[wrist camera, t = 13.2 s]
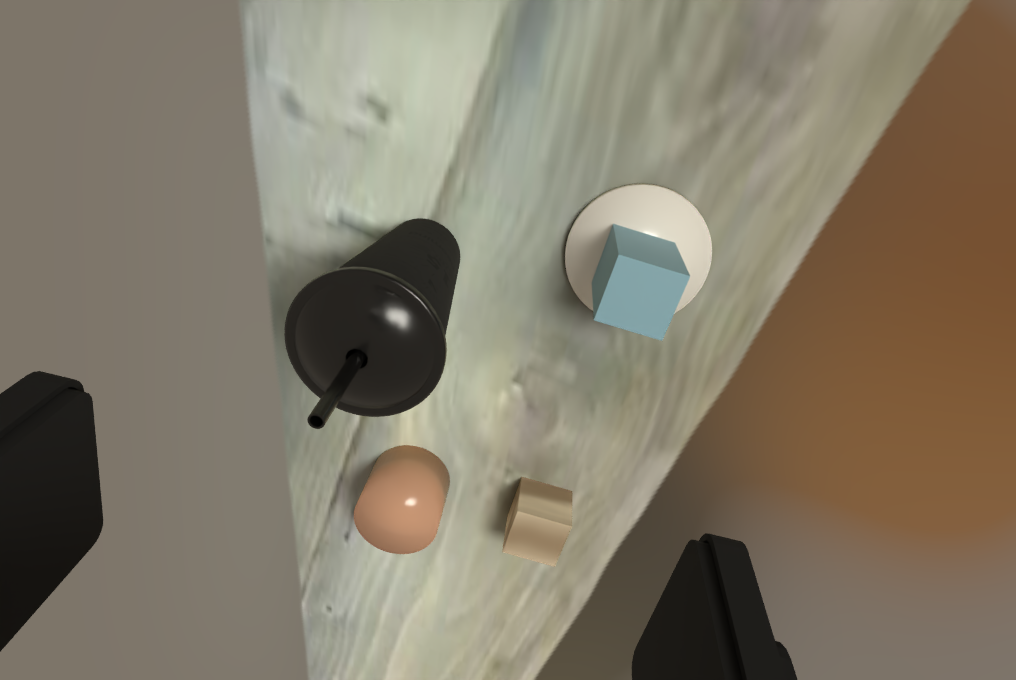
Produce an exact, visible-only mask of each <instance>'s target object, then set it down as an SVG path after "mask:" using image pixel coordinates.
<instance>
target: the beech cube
mask: <svg viewBox="0 0 1016 680" xmlns="http://www.w3.org/2000/svg"><path fill="white" fill-rule="evenodd" d="M571 528H572V491H570V490H566V489H563V488H559V487H556V486H552V485H549V484H545V483H542V482H538V481H535V480H531V479H528V478H524V477H521V480H520V483H519V486H518V488H517V491H516V494H515V497H514V499H513V502H512V505H511V507H510V510H509V513H508V516H507V522H506V529H505V537H504V544H503V551H502V552H505V553H508V554H512V555H515V556H519V557H522V558H526V559H529V560H533V561H536V562H540V563H543V564H547V565H550V566H554V567H555V565H556V563H557V560H558V558H559V556H560V553H561V551H562V549H563V546H564V544H565V542H566V539H567V537H568V535H569V532H570V530H571Z"/></svg>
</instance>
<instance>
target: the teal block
mask: <svg viewBox="0 0 1016 680" xmlns="http://www.w3.org/2000/svg"><path fill="white" fill-rule="evenodd" d="M689 278H690V274H689V272H688V270H687V268H686V266H685V263H684V261H683V259H682V257H681V255H680V252H679V250H678V248H677V246H676V243H675V242H671V241H668V240H665V239H662V238H658V237H655V236H652V235H649V234H645V233H642V232H639V231H636V230H632V229H629V228H626V227H623V226H619V225H616V224H613V225H612V228H611V230H610V233H609V236H608V239H607V241H606V244H605V247H604V250H603V252H602V255H601V258H600V260H599V263H598V266H597V269H596V271H595V274H594V277H593V279H592V299H593V315H594V320H595V321H598V322H601V323H605V324H608V325H611V326H615V327H618V328H621V329H625V330H628V331H631V332H635V333H638V334H641V335H645V336H648V337H651V338H655V339H658V340H661V341H662V340H663V338H664V335H665V333H666V331H667V328H668V326H669V324H670V322H671V319H672V317H673V315H674V313H675V310H676V308H677V306H678V303H679V301H680V299H681V297H682V294H683V292H684V290H685V287H686V285H687V283H688V281H689Z"/></svg>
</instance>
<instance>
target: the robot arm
mask: <svg viewBox="0 0 1016 680" xmlns="http://www.w3.org/2000/svg"><path fill="white" fill-rule="evenodd" d="M102 526H103V513H102V502H101V491H100V480H99V468H98V457H97V446H96V435H95V425H94V413H93V401H92V397H91V396H90V394H89V393H86V392H84V389H83V385H82V384H81V383H80V382H79V381H77V380H74V379H70V378H66V377H62V376H57V375H53V374H49V373H45V372H41V371H38V372H33V373H31V374H29V375H27V376H25V377H24V378H22V379H21V380H20V381H18V382H17V383H15V384H14V385H12V386H11V387H10V388H8V389H7V390H5V391H4V392H2V393H1V394H0V651H1V650H2V649H3V648H4V647H5V646H6V645H7V643H8V642H9V641H10V640H11V639H12V638H13V637H14V635H15V634H16V633H17V632H18V631H19V630H20V629H21V627H22V626H23V625H24V624H25V623H26V622H27V620H28V619H29V618H30V617H31V616H32V615H33V614H34V613H35V611H36V610H37V609H38V608H39V607H40V606H41V605H42V603H43V602H44V601H45V600H46V599H47V598H48V596H49V595H50V594H51V593H52V592H53V591H54V590H55V589H56V587H57V586H58V585H59V584H60V583H61V582H62V581H63V579H64V578H65V577H66V576H67V575H68V574H69V573H70V571H71V570H72V569H73V568H74V567H75V566H76V565H77V563H78V562H79V561H80V560H81V559H82V558H83V557H84V556H85V554H86V553H87V552H88V551H89V550H90V549H91V548H92V546H93V545H94V544H95V542H96V541H97V539H98V537H99V535H100V533H101V530H102ZM632 680H797V677H796V674H795V671H794V667H793V664H792V661H791V658H790V656H789V654H788V652H787V650H786V648H785V647H784V646H783V645H782V644H781V643H780V642H777V641H775V639H774V636H773V633H772V629H771V626H770V623H769V620H768V616H767V613H766V610H765V606H764V603H763V600H762V597H761V593H760V590H759V586H758V583H757V580H756V576H755V573H754V570H753V567H752V563H751V560H750V557H749V553H748V550H747V548H746V546H745V544H744V543H743V542H741V541H737V540H733V539H729V538H725V537H720V536H716V535H712V534H704V535H703V536H702V537H701V538H700V540H699V541H696V540H690V541H689V542H688V544H687V545H686V547H685V549H684V551H683V553H682V555H681V557H680V559H679V561H678V563H677V565H676V568H675V569H674V571H673V573H672V575H671V577H670V580H669V582H668V583H667V586H666V588H665V590H664V592H663V594H662V596H661V598H660V600H659V602H658V604H657V606H656V608H655V610H654V612H653V614H652V616H651V618H650V620H649V622H648V624H647V626H646V628H645V630H644V632H643V634H642V636H641V638H640V640H639V642H638V644H637V646H636V649H635V651H634V655H633V661H632Z"/></svg>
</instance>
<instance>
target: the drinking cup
mask: <svg viewBox="0 0 1016 680" xmlns="http://www.w3.org/2000/svg"><path fill="white" fill-rule="evenodd" d="M459 264H460V250H459V246H458V244H457V241H456V239H455V238H454V236H453V235H452V234H451V232H450V231H449V230H448V229H447V228H445V227H444V226H443V225H441V224H439V223H437V222H435V221H432V220H429V219H412V220H409V221H406V222H404V223H402V224H401V225H399V226H398V227H397V228H395V229H394V230H392V231H391V232H389V233H388V234H387V235H385V236H384V237H382V238H381V239H380V240H378V241H377V242H375V243H374V244H373V245H371V246H370V247H368V248H367V249H365V250H364V251H363V252H361V253H360V254H358V255H357V256H356V257H354V258H353V259H351V260H350V261H349V262H347V263H346V264H344V265H343V266H342V267H340V268H339V269H335V270H332V271H329V272H326V273H324V274H322V275H320V276H318V277H316V278H315V279H314V280H312V281H311V282H309V283H308V284H307V285H306V286H305V287H304V288H303V289H302V290H301V291H300V292H299V293H298V295H297V296H296V297H295V299H294V300H293V302H292V304H291V306H290V308H289V311H288V314H287V317H286V322H285V344H286V349H287V353H288V356H289V359H290V361H291V364H292V365H293V367H294V369H295V371H296V373H297V374H298V376H299V377H300V379H301V380H302V381H303V382H304V384H305V385H306V386H307V387H308V388H309V389H310V390H311V391H312V392H313V393H314V394H316V395H317V396H318V397H319V398H321V399H320V400H319V402H318V403H317V405H316V406H315V408H314V409H313V411H312V412H311V414H310V415H309V417H308V423H309V425H310V426H311V427H313V428H315V429H320V428H322V427H323V426H324V425H325V423H326V422H327V420H328V419H329V417H330V415H331V414H332V412H333V411H334V409H335V407H336V408H338V409H340V410H343V411H346V412H349V413H352V414H356V415H362V416H371V417H380V416H390V415H394V414H398V413H401V412H404V411H406V410H409V409H411V408H413V407H414V406H416V405H418V404H419V403H421V402H422V401H423V400H424V399H425V398H427V397H428V396H429V395H430V393H431V392H432V391H433V390H434V388H435V387H436V385H437V384H438V382H439V380H440V378H441V375H442V373H443V370H444V366H445V362H446V353H447V347H446V338H445V335H446V330H447V325H448V320H449V314H450V309H451V304H452V299H453V294H454V289H455V284H456V279H457V274H458V269H459Z"/></svg>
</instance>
